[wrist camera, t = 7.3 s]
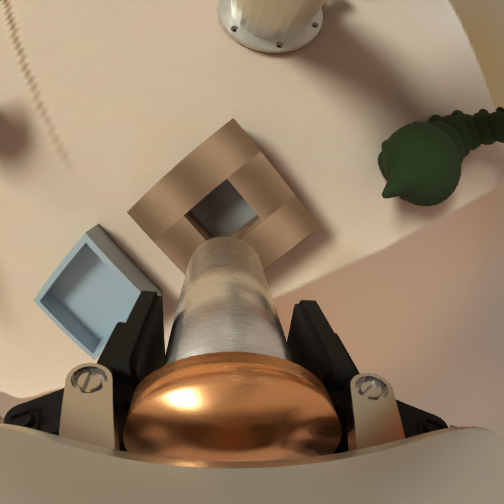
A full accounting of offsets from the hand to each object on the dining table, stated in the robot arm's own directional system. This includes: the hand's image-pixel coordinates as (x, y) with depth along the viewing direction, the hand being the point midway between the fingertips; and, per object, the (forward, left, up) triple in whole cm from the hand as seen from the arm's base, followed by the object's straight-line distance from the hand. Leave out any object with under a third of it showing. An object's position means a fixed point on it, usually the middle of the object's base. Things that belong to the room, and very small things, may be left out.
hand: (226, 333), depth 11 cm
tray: (+20, -3, -25) cm, 32 cm away
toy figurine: (-26, +10, -25) cm, 37 cm away
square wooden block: (0, 0, -25) cm, 25 cm away
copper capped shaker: (0, 0, -6) cm, 6 cm away
